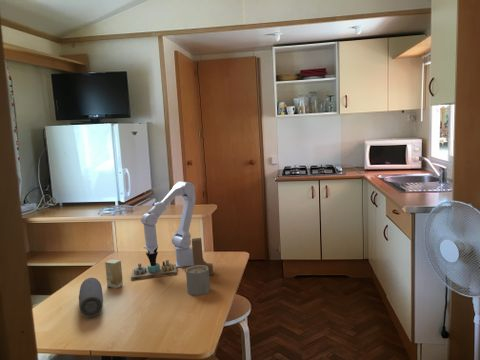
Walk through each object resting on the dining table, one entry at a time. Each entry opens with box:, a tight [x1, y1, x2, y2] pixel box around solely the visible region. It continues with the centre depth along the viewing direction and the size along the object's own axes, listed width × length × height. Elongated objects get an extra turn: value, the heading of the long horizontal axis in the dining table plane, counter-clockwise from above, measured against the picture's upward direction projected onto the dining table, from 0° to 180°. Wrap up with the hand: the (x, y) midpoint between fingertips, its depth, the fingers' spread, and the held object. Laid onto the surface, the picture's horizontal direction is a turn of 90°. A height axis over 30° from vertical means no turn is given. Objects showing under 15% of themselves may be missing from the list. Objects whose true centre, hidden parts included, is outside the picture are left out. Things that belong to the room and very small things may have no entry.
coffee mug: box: [185, 265, 211, 296], centre depth 178 cm, size 13×10×10 cm
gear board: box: [130, 259, 178, 281], centre depth 202 cm, size 22×11×6 cm, turn 101°
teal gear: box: [147, 262, 161, 273], centre depth 202 cm, size 6×6×3 cm
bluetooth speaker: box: [78, 277, 104, 318], centre depth 166 cm, size 23×9×10 cm, turn 21°
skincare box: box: [104, 258, 124, 289], centre depth 189 cm, size 6×4×12 cm
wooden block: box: [191, 237, 214, 276], centre depth 195 cm, size 9×4×18 cm, turn 95°
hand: (153, 263), depth 202 cm, fingers open, 7 cm apart
